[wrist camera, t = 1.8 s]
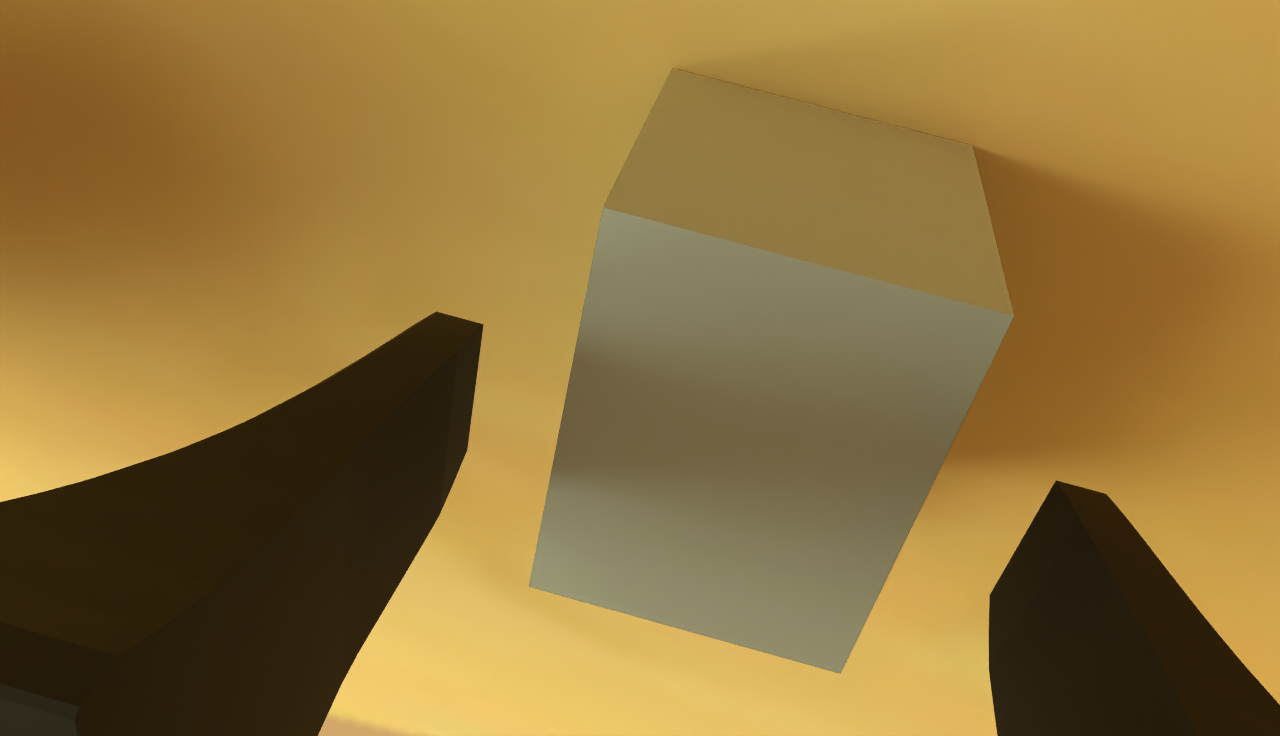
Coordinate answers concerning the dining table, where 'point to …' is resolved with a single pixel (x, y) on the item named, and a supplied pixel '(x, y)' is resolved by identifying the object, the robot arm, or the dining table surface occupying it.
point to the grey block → (768, 368)
